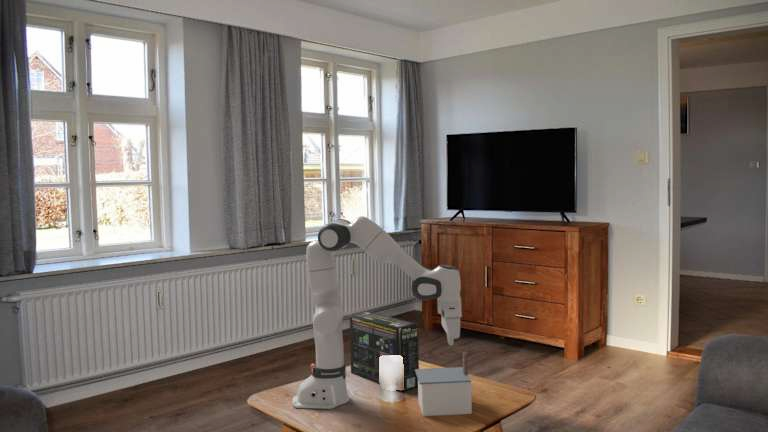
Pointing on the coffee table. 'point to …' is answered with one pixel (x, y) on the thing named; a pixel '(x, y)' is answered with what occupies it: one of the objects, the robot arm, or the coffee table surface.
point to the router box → (383, 345)
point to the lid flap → (444, 374)
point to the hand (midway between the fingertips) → (450, 344)
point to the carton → (445, 398)
